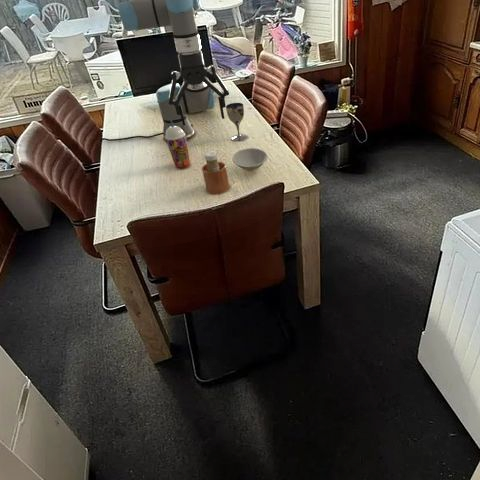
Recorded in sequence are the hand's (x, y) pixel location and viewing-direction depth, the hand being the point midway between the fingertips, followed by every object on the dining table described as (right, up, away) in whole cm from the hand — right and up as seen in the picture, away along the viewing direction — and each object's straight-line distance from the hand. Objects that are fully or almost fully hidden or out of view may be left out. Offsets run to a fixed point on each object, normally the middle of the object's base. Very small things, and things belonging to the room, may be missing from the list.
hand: (203, 120), depth 133 cm
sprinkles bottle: (+2, -19, +15) cm, 25 cm away
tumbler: (+3, -20, +16) cm, 26 cm away
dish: (+15, -9, +26) cm, 32 cm away
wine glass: (+8, +12, +52) cm, 53 cm away
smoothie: (-15, -6, +33) cm, 37 cm away
